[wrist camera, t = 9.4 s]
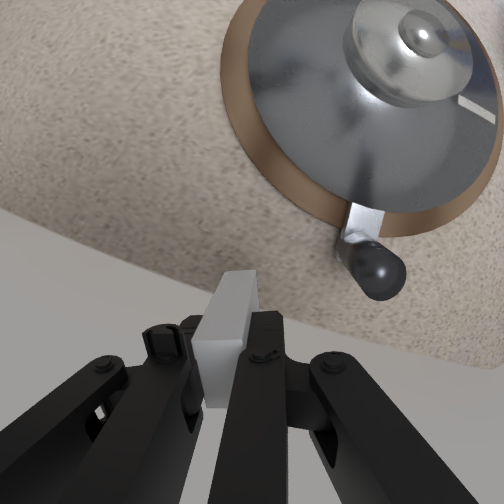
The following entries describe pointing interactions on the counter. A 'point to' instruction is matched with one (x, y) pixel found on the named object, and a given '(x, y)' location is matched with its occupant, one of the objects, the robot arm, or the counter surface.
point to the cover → (407, 51)
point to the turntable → (365, 130)
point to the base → (296, 181)
